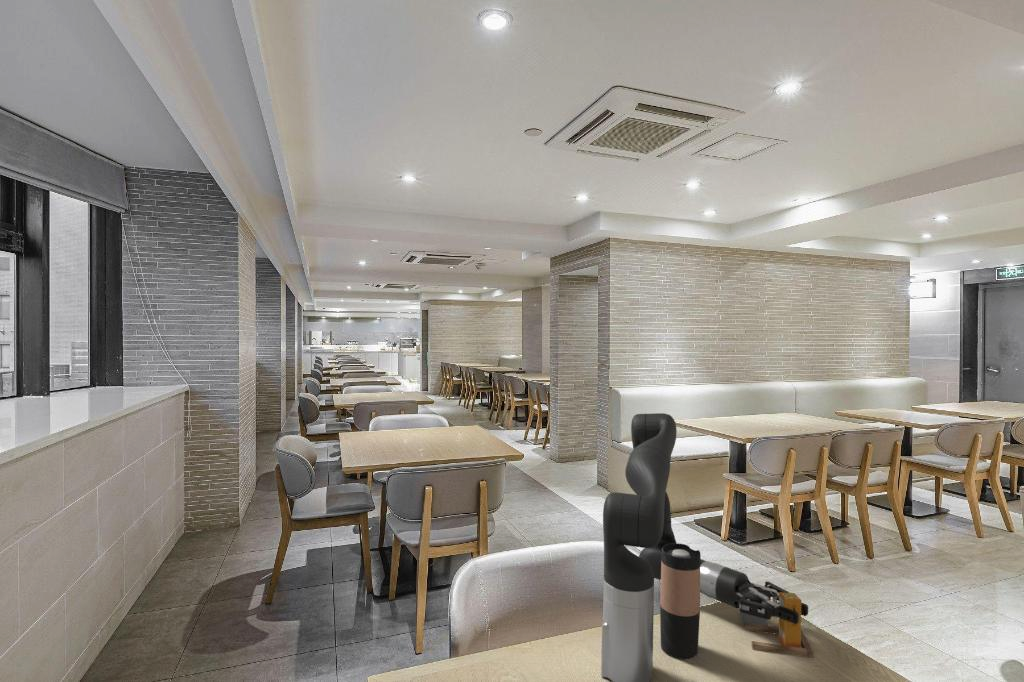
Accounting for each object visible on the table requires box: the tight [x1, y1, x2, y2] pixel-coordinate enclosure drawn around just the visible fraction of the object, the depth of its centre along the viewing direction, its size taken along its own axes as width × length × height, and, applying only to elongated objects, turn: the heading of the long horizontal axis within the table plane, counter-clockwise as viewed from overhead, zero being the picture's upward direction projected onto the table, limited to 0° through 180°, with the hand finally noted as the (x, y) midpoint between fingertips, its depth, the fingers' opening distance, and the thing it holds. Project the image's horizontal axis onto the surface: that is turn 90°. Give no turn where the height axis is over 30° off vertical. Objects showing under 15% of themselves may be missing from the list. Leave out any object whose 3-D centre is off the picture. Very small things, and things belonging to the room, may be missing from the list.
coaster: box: [739, 611, 770, 626], centre depth 119 cm, size 5×5×1 cm
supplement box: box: [778, 592, 802, 648], centre depth 110 cm, size 3×3×10 cm
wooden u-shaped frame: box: [744, 622, 815, 659], centre depth 111 cm, size 11×8×1 cm
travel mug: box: [659, 542, 702, 660], centre depth 108 cm, size 8×8×20 cm
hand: (802, 614), depth 108 cm, fingers closed on supplement box, 4 cm apart
